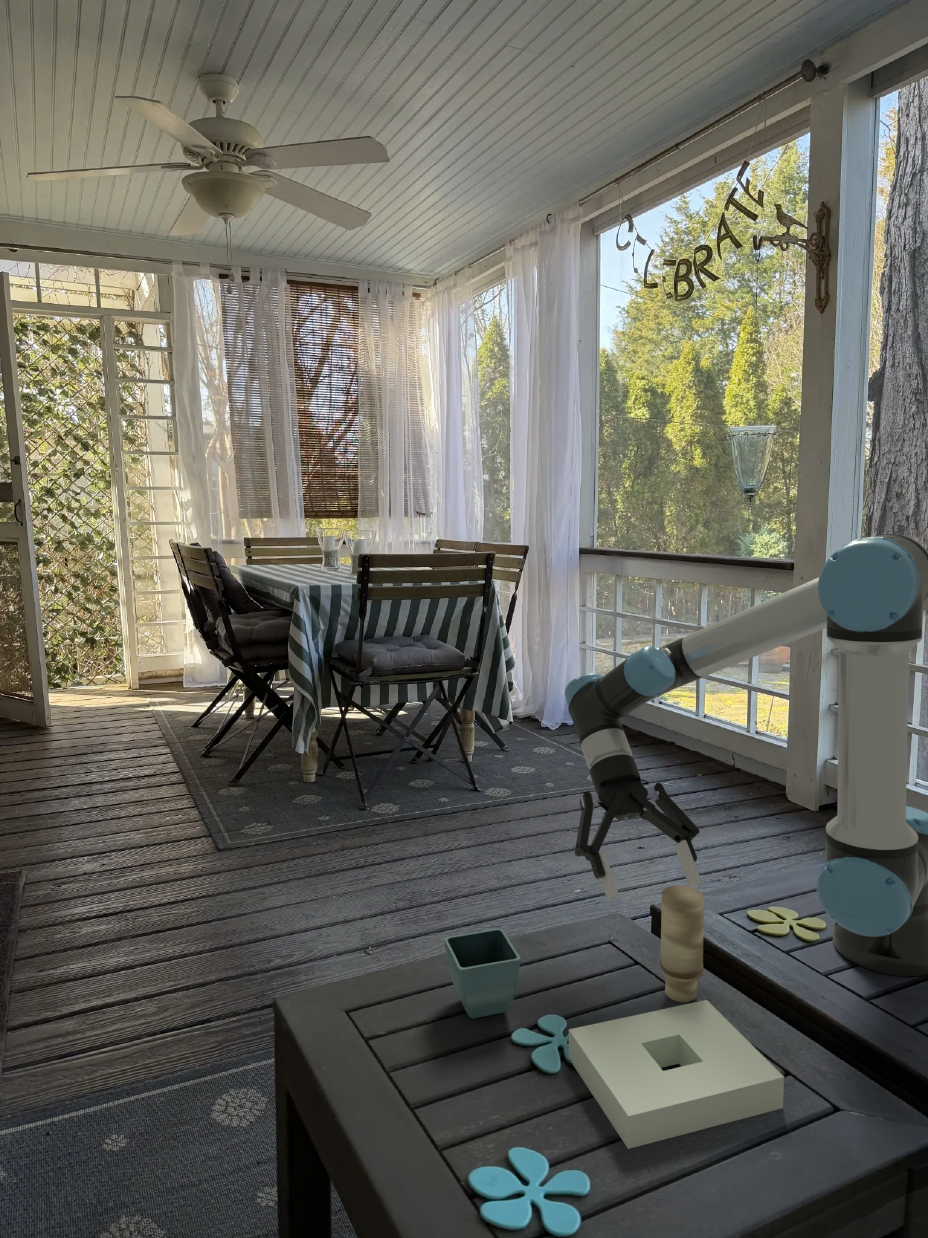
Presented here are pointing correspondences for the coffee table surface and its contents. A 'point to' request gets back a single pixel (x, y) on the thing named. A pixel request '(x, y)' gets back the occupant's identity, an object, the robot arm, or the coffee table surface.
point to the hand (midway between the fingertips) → (655, 891)
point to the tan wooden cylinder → (682, 941)
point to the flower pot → (483, 971)
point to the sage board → (673, 1072)
